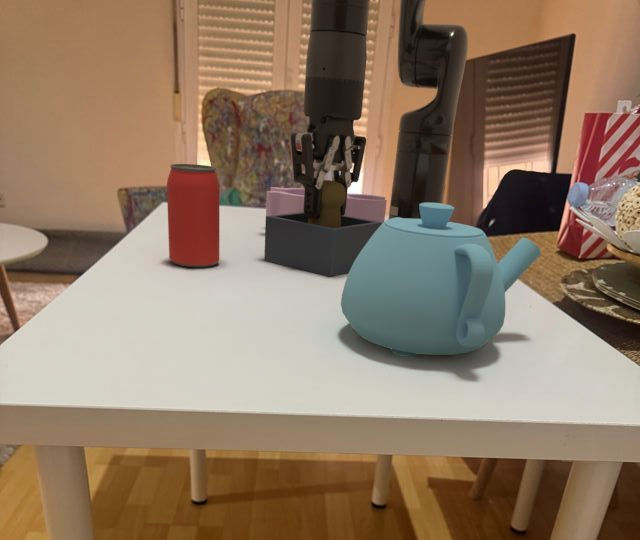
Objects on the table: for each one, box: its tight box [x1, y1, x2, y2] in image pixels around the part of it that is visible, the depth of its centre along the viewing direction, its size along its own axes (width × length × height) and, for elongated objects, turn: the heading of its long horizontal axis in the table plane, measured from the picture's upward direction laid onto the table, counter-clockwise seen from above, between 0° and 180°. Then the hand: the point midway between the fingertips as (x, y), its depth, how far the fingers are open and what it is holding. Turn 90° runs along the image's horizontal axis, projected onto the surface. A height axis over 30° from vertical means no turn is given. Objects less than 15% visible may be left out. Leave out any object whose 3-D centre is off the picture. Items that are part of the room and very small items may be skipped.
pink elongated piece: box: [265, 186, 388, 223], centre depth 108 cm, size 20×12×7 cm, turn 88°
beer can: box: [166, 163, 220, 268], centre depth 81 cm, size 7×7×12 cm
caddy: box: [263, 212, 382, 277], centre depth 88 cm, size 12×12×6 cm
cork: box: [308, 179, 346, 228], centre depth 87 cm, size 6×6×11 cm
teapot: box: [340, 203, 542, 357], centre depth 59 cm, size 20×20×13 cm
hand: (325, 215), depth 86 cm, fingers closed on cork, 5 cm apart
